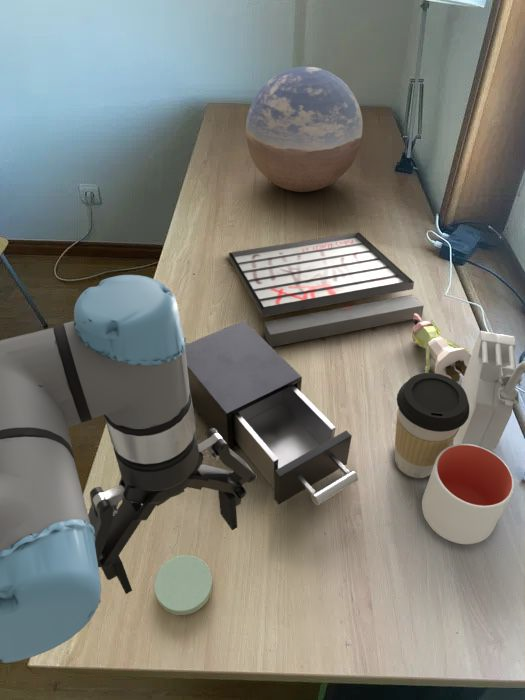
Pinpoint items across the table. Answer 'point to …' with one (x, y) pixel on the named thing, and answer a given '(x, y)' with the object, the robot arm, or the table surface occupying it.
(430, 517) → the cup
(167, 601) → the plate
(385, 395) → the table surface
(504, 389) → the jerry can
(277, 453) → the drawer
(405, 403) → the coffee cup
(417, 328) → the figurine
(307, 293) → the shutter
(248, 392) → the cabinet
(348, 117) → the sphere
